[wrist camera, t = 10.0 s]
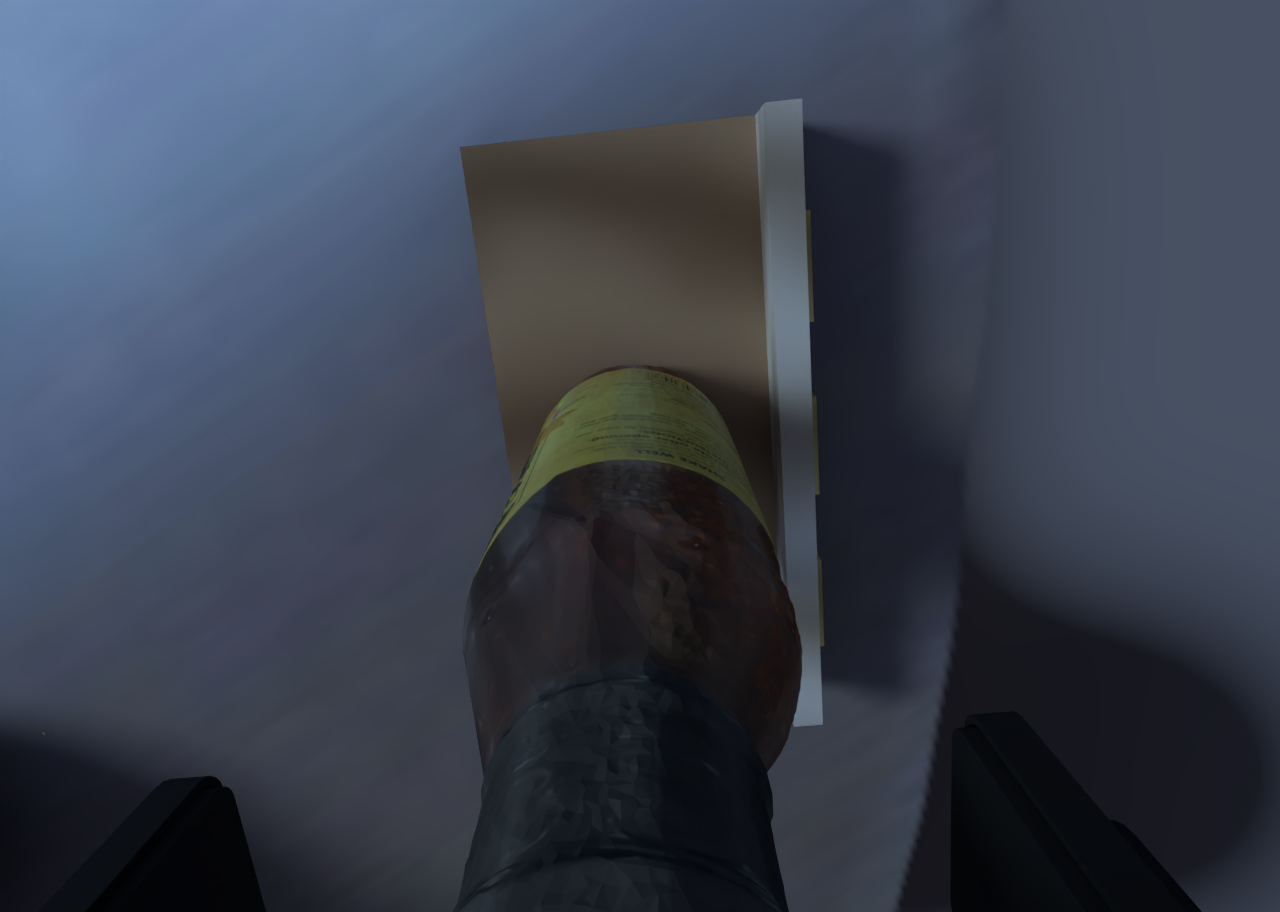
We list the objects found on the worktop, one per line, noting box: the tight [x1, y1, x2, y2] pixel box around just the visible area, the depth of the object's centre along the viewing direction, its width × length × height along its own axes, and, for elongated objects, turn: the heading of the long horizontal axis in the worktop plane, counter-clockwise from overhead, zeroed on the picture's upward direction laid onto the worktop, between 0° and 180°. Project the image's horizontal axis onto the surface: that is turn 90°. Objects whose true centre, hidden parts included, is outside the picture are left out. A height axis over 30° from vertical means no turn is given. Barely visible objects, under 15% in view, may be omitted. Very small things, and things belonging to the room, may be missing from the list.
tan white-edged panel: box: [460, 99, 824, 727], centre depth 25 cm, size 20×10×4 cm, turn 6°
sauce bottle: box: [453, 365, 802, 912], centre depth 15 cm, size 7×6×20 cm
